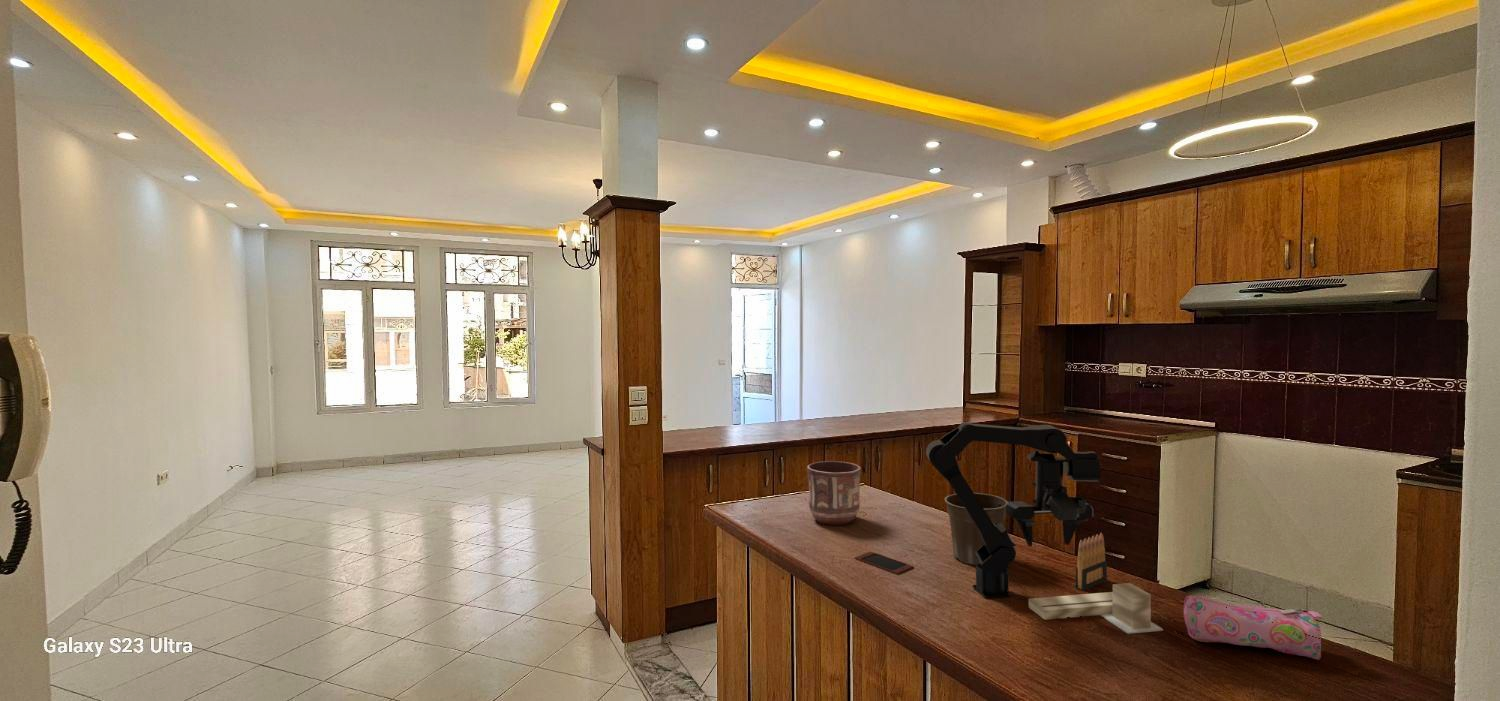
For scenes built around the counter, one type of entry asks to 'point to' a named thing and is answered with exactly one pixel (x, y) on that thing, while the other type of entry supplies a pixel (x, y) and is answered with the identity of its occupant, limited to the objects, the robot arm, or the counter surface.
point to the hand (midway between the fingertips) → (1048, 545)
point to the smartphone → (884, 563)
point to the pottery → (834, 491)
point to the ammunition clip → (1091, 563)
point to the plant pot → (971, 525)
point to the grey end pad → (1127, 628)
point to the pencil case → (1253, 626)
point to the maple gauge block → (1132, 606)
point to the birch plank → (1072, 605)
